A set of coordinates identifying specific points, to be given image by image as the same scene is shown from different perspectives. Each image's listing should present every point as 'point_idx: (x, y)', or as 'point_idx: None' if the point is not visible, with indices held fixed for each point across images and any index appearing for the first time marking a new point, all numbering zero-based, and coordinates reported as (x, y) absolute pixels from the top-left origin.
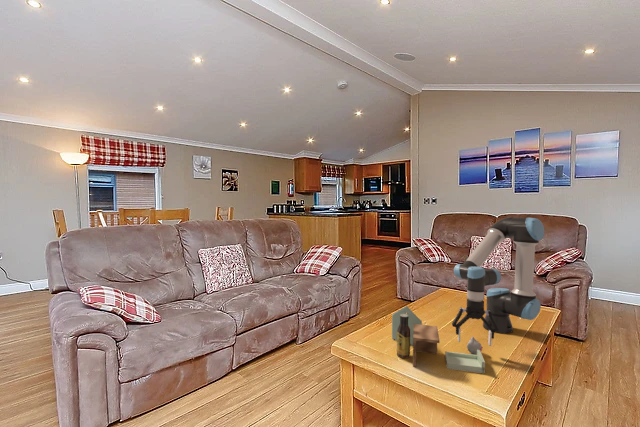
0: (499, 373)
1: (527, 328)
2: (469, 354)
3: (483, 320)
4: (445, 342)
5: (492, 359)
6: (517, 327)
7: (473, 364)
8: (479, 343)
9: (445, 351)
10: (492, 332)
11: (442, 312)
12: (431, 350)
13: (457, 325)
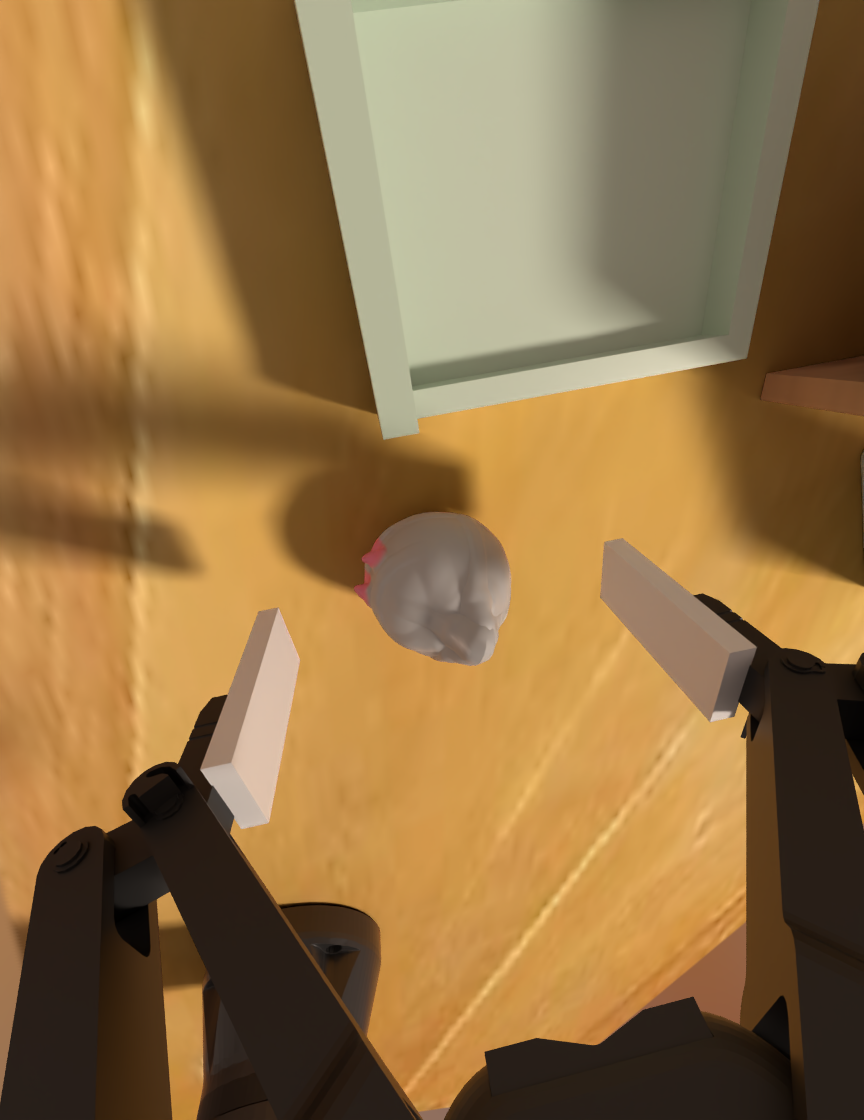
0: (113, 111)
1: None
2: (491, 391)
3: (339, 1066)
4: (635, 641)
5: (262, 502)
6: (195, 995)
7: (442, 189)
8: (393, 613)
9: (744, 350)
10: (176, 766)
11: (582, 952)
12: (847, 365)
13: (834, 691)
